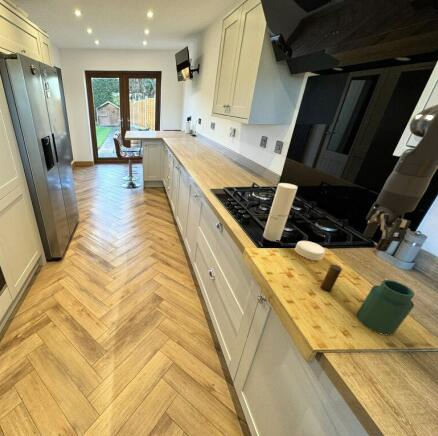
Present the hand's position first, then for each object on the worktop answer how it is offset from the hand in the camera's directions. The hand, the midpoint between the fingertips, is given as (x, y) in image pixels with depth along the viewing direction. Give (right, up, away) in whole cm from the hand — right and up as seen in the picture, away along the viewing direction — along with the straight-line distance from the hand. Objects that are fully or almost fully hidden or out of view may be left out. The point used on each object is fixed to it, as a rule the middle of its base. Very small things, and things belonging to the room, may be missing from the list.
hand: (373, 243), depth 69 cm
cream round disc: (+1, -8, +29) cm, 30 cm away
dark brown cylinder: (-6, -16, +10) cm, 20 cm away
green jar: (-1, -22, -2) cm, 23 cm away
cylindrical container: (-9, -2, +40) cm, 41 cm away
